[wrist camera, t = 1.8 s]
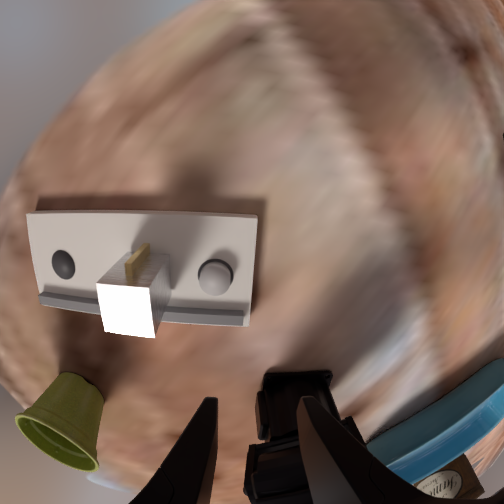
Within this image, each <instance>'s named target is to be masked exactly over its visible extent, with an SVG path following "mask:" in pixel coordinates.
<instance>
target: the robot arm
mask: <svg viewBox="0 0 504 504" xmlns="http://www.w3.org/2000/svg"><path fill="white" fill-rule="evenodd" d="M327 375H328V376H327ZM332 377H333V374H332V372H331V371H330V370H326V371H311V372H288V373H267V374H265V375H264V376H263V382H262V389H261V391H259V392H258V393H257V397H256V404H255V413H256V423H257V434H258V439H259V440H265V443H261V444H252V445H249V451H248V453H247V461H246V470H245V479H244V488H243V492H244V494H245V495H247V496H248V497H249V500H250V502H251V504H504V487H503V488H502V489H500V490H499V491H497V492H496V493H495V494H494V495H492V496H491V497H489V498H484V499H454V498H440V497H435V496H431V495H429V494H426V493H424V492H423V491H421V490H419V489H418V488H416V487H415V486H413V485H412V484H410V483H408V482H407V481H405V480H404V479H402V478H401V477H400V476H398V475H397V474H395V473H394V472H393V471H391V470H390V469H389V468H388V467H386V466H385V465H384V464H383V463H382V462H381V461H379V460H378V459H377V458H376V457H375V456H374V457H373V454H372V453H371V452H370V451H368V449H367V446H366V444H365V442H364V440H363V438H362V436H361V434H360V432H359V430H358V428H357V426H356V424H355V422H354V420H353V418H352V416H348V417H346V418H345V419H343V420H341V418H340V415H339V413H338V410H337V407H336V405H335V402H334V399H333V397H332V394H331V392H330V389H329V386H330V383H331V380H332ZM267 378H270V379H267ZM217 449H218V398H216V397H205V399H204V400H203V402H202V403H201V405H200V406H199V408H198V409H197V411H196V413H195V414H194V416H193V417H192V419H191V420H190V422H189V423H188V425H187V427H186V428H185V430H184V431H183V433H182V434H181V436H180V437H179V439H178V440H177V442H176V443H175V445H174V446H173V448H172V449H171V451H170V452H169V454H168V455H167V457H166V458H165V460H164V461H163V463H162V464H161V466H160V467H161V468H158V470H157V471H156V473H155V474H154V476H153V477H152V478H151V480H150V481H149V482H148V483H147V485H146V486H145V487H144V488H143V489H142V490H141V492H140V493H139V494H138V495H137V496H136V497H135V498H134V499H133V500H132V501H131V502H130V503H129V504H210V498H211V491H212V485H213V479H214V472H215V466H216V460H217Z"/></svg>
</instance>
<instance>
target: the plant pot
mask: <svg viewBox="0 0 504 504" xmlns="http://www.w3.org/2000/svg"><path fill="white" fill-rule="evenodd" d="M103 405H104V399H103V397H102V395H101V393H100V392H99V390H98V389H97V388H96V387H95V386H94V385H91V384H89V383H87V382H86V381H85V380H84V379H83V377H81V376H79V375H77V374H74V373H69V372H64V373H61V374H60V375H59V376H58V377H57V378H56V379H55V380H54V381H53V382H52V384H51V385H50V386H49V387H48V388H47V389H46V390H45V392H44V393H43V394H42V395H41V396H40V397H39V398H38V399H37V401H36V402H35V403H34V404H33V405H32V407H29V408H27V409H26V410H25V411H24V413H19V414H17V415H16V417H15V422H16V424H17V426H18V428H19V429H20V431H21V432H22V433H23V435H24V436H25V437H26V438H27V439H28V440H29V441H30V442H31V443H32V444H34V445H35V446H36V447H37V448H38V449H40V450H41V451H42V452H43V453H45V454H47V455H48V456H50V457H51V458H53V459H55V460H56V461H59V462H60V463H62V464H64V465H66V466H69V467H71V468H74V469H77V470H81V471H86V472H95V471H97V470H98V469H99V463H98V461H97V450H96V443H97V437H98V431H99V425H100V420H101V415H102V410H103Z"/></svg>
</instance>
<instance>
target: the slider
mask: <svg viewBox="0 0 504 504" xmlns="http://www.w3.org/2000/svg"><path fill="white" fill-rule="evenodd" d="M96 288H97V294H98V299H99V305H100V310H101V315H102V319H103V324H104V328H105V331H106V332H113V333H120V334H127V335H135V336H143V337H152V338H155V335H156V333H157V330H158V328H159V325H160V323H161V320H162V317H163V315H164V312H165V310H166V308H167V305H168V303H169V300H170V298H171V295H172V291H171V270H170V254H168V253H150V243H143V244H142V246H141V247H140V248H139V249H138V250H137V251H136V252H130V251H127V252H126V253H125V254H124V255H123V256H122V257H121V258H120V259H119V260H118V261H117V262H116V263H115V264H114V265H113V266H112V267H111V268H110V269H109V270H108V271H107V272H106V273H105V274H104V275H103V276H102V277H101V278H100V279H99V280H98V281H97V282H96Z"/></svg>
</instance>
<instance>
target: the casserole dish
mask: <svg viewBox="0 0 504 504" xmlns="http://www.w3.org/2000/svg"><path fill="white" fill-rule="evenodd" d="M503 418H504V358H500V359H497V360H494V361H492V362H491V363H489V364H488V365H486V366H485V367H483V368H482V369H481V370H479V371H478V372H477V373H475V374H474V375H473V376H471V377H470V378H469V379H468V380H466V381H465V382H463V383H462V384H461V385H459V386H458V387H457V388H455V389H454V390H452V391H451V392H449V393H448V394H447V395H445V396H444V397H442V398H441V399H440V400H438V401H436V402H435V403H433V404H432V405H430V406H428V407H427V408H425V409H424V410H422V411H420V412H419V413H417V414H415V415H414V416H412V417H410V418H409V419H407V420H405V421H403V422H402V423H400V424H398V425H396V426H395V427H393V428H391V429H389V430H387V431H386V432H384V433H382V434H381V435H379V436H378V437H376V438H375V439H373V440H372V441H371V442H369V443H368V444H367V445H366V446H367V449H368V451H370V452H371V453H372V454H373V457H374V456H375V457H376V458H377V459H378V460H379V461H381V462H382V463H383V464H384V465H385V466H386V467H388V468H389V469H390V470H391V471H393V472H394V473H395V474H397V475H398V476H400V477H401V478H402V479H404V480H405V481H407V482H408V483H410V484H414V483H416V482H418V481H420V480H422V479H423V478H425V477H427V476H429V475H430V474H432V473H434V472H435V471H437V470H439V469H440V468H442V467H444V466H445V465H447V464H448V463H450V462H451V461H453V460H454V459H456V458H457V457H459V456H460V455H461V454H463V453H464V452H466V451H467V450H468V449H470V448H471V447H472V446H474V445H475V444H476V443H477V442H479V441H480V440H481V439H482V438H484V437H485V436H486V435H487V434H488V433H489V432H490V431H492V430H493V429H494V428H495V427H496V426H497V425H498V423H499V422H500V421H501V420H502V419H503Z"/></svg>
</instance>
